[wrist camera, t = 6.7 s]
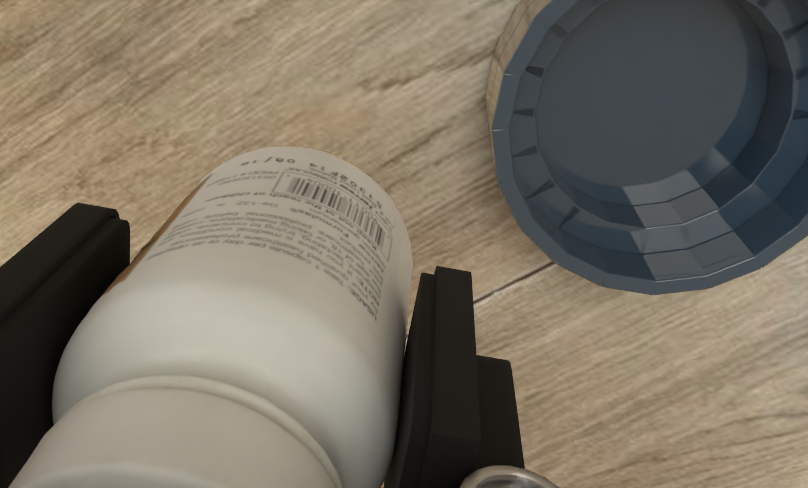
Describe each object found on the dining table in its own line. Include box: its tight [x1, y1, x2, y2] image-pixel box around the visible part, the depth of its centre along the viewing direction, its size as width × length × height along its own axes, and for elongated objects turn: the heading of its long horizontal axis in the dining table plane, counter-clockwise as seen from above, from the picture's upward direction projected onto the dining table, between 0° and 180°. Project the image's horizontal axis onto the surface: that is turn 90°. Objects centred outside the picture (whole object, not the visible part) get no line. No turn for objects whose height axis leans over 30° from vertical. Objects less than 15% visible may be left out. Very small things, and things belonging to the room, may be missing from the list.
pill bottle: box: [8, 147, 413, 488], centre depth 11 cm, size 4×4×8 cm
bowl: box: [486, 0, 808, 295], centre depth 27 cm, size 12×12×5 cm
